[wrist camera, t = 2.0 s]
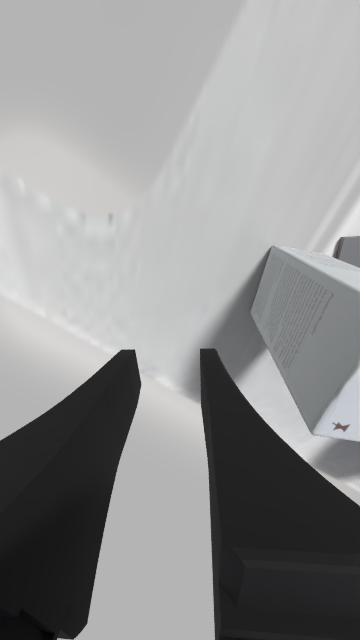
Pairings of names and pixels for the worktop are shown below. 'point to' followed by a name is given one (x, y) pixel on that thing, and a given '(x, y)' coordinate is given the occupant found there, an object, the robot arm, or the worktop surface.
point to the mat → (349, 250)
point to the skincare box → (314, 335)
